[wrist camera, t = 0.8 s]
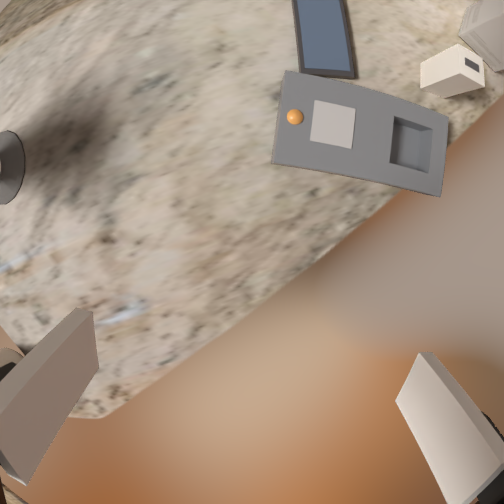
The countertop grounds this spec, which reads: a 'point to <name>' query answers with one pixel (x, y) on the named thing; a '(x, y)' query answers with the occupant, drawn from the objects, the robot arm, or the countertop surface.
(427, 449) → the robot arm
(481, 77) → the block
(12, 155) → the cup
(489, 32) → the supplement box
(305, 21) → the phone
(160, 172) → the countertop surface
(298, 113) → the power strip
